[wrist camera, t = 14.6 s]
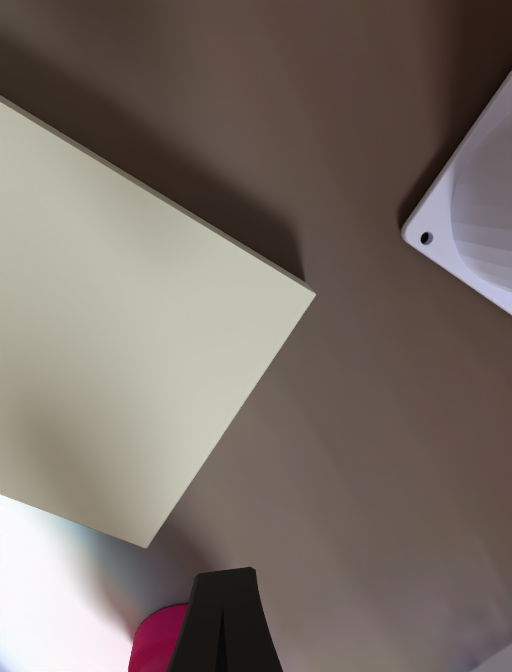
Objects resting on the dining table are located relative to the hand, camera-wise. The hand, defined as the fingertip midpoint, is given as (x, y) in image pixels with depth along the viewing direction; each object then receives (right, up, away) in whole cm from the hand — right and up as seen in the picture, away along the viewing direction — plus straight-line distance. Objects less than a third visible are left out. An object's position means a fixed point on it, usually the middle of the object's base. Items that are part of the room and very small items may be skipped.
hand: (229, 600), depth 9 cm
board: (-7, +6, +7) cm, 12 cm away
